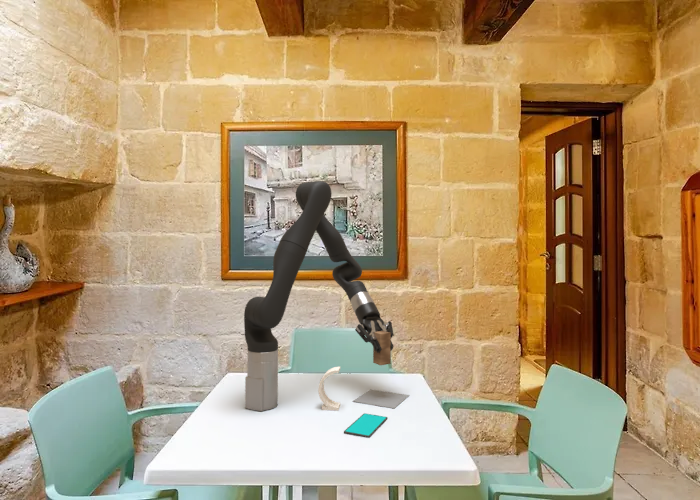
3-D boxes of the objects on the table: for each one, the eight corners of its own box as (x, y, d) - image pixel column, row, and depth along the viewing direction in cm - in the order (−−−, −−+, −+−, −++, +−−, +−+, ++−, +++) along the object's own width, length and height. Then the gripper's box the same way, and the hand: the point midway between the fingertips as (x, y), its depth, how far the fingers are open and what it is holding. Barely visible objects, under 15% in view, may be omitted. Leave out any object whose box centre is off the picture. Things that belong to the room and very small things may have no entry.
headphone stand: (338, 410, 138) (338, 370, 138) (318, 409, 138) (318, 369, 138) (340, 405, 142) (340, 366, 142) (320, 404, 143) (321, 365, 143)
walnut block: (380, 365, 146) (380, 333, 146) (373, 362, 150) (373, 331, 150) (390, 363, 148) (390, 332, 148) (383, 361, 152) (383, 330, 152)
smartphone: (343, 431, 121) (364, 413, 135) (343, 434, 121) (364, 416, 135) (369, 436, 118) (388, 417, 132) (369, 439, 118) (388, 420, 132)
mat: (394, 408, 140) (394, 408, 140) (352, 401, 146) (352, 401, 146) (409, 395, 152) (409, 395, 152) (370, 389, 158) (370, 389, 158)
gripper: (351, 302, 152) (372, 346, 141) (386, 300, 159) (408, 341, 149) (342, 316, 156) (362, 359, 146) (377, 313, 164) (398, 354, 153)
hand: (385, 350), depth 147 cm, fingers closed on walnut block, 4 cm apart
